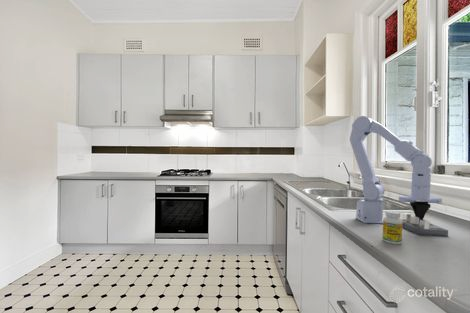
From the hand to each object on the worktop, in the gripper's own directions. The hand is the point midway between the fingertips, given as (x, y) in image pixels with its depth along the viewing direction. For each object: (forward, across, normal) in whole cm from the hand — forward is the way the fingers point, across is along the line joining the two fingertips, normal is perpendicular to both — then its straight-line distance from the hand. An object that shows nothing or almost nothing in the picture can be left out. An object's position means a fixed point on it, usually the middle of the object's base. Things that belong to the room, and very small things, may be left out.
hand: (419, 221), depth 96 cm
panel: (+3, 0, 0) cm, 3 cm away
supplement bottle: (+3, -18, -15) cm, 24 cm away
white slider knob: (+1, -2, 0) cm, 2 cm away
